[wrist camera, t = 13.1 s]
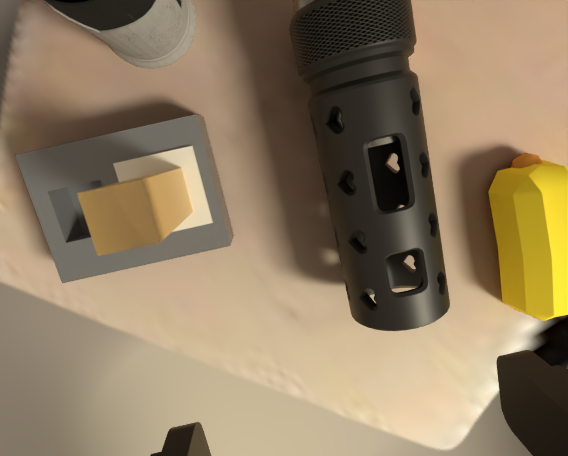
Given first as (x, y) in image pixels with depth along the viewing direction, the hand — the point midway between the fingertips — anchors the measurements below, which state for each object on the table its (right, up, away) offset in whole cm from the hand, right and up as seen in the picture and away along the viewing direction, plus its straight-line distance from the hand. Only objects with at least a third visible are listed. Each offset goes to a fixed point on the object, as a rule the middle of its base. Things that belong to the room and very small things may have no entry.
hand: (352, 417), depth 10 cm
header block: (-16, +8, +28) cm, 34 cm away
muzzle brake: (+6, +12, +29) cm, 32 cm away
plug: (-12, +8, +24) cm, 28 cm away
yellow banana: (+24, +4, +31) cm, 40 cm away
